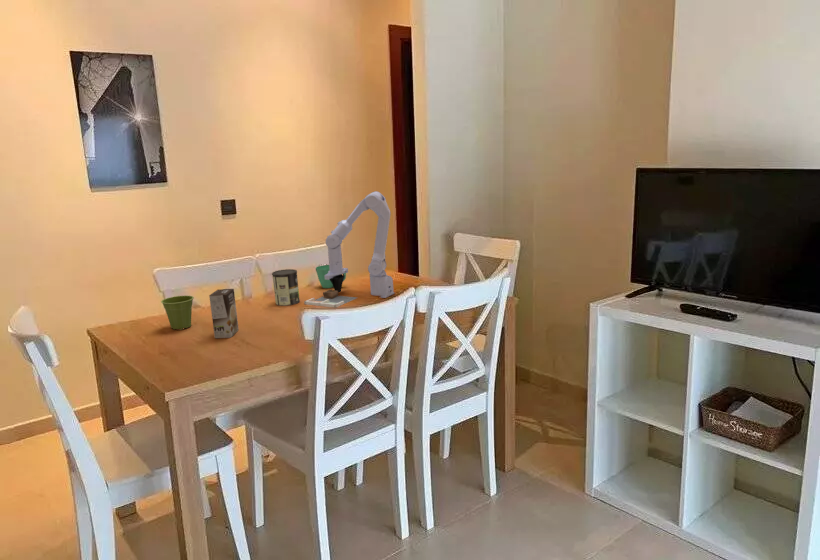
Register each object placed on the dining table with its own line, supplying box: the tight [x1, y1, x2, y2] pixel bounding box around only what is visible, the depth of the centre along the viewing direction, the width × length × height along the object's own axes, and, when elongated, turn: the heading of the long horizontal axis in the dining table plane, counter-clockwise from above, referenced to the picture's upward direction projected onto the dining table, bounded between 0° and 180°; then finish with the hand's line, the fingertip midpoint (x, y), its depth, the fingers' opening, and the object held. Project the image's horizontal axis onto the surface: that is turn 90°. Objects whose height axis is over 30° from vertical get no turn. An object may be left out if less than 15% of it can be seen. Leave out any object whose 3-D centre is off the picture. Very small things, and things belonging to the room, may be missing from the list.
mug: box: [315, 264, 347, 289], centre depth 291 cm, size 15×10×10 cm
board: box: [303, 295, 358, 309], centre depth 268 cm, size 16×16×2 cm
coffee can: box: [271, 268, 301, 307], centre depth 268 cm, size 10×10×14 cm
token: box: [322, 289, 339, 299], centre depth 274 cm, size 4×4×2 cm
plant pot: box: [160, 295, 195, 330], centre depth 244 cm, size 12×12×11 cm
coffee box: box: [208, 288, 239, 339], centre depth 232 cm, size 9×6×16 cm
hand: (338, 292), depth 279 cm, fingers closed
